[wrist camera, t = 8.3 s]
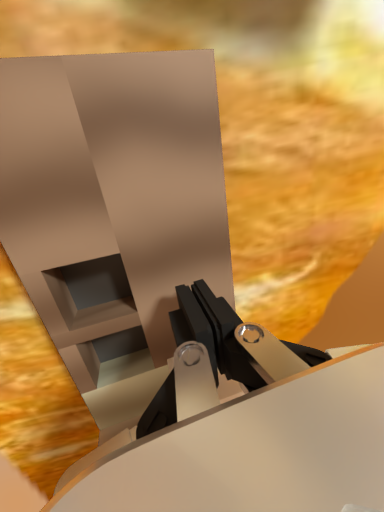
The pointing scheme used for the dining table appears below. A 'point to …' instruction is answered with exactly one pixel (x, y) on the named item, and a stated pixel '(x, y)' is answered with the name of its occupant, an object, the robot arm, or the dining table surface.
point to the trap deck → (113, 210)
